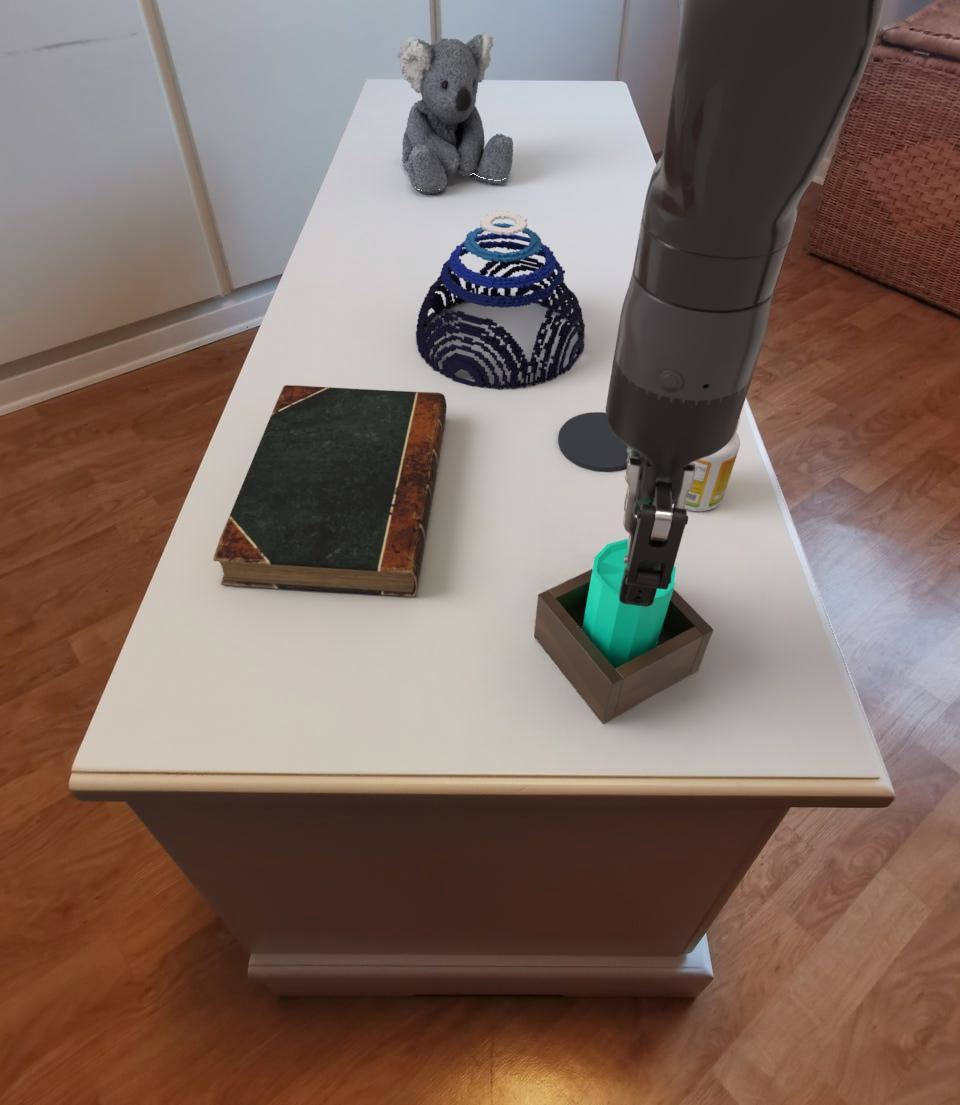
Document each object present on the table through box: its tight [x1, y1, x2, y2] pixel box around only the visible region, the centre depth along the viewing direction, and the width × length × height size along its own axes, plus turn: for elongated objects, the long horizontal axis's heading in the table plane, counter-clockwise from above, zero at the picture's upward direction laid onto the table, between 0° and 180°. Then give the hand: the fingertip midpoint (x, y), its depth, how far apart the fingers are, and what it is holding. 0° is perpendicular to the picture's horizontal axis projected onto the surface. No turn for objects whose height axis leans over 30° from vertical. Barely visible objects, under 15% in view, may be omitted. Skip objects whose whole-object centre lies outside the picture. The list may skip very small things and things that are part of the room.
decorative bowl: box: [415, 211, 586, 391], centre depth 88 cm, size 20×20×14 cm
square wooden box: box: [533, 568, 714, 725], centre depth 61 cm, size 10×10×6 cm
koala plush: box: [396, 31, 514, 195], centre depth 120 cm, size 17×18×20 cm
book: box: [212, 384, 448, 598], centre depth 74 cm, size 17×4×25 cm
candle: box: [581, 538, 677, 669], centre depth 58 cm, size 6×6×12 cm
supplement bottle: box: [685, 416, 741, 512], centre depth 72 cm, size 5×5×10 cm
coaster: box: [557, 411, 628, 473], centre depth 81 cm, size 9×9×1 cm
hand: (636, 554), depth 54 cm, fingers open, 8 cm apart
